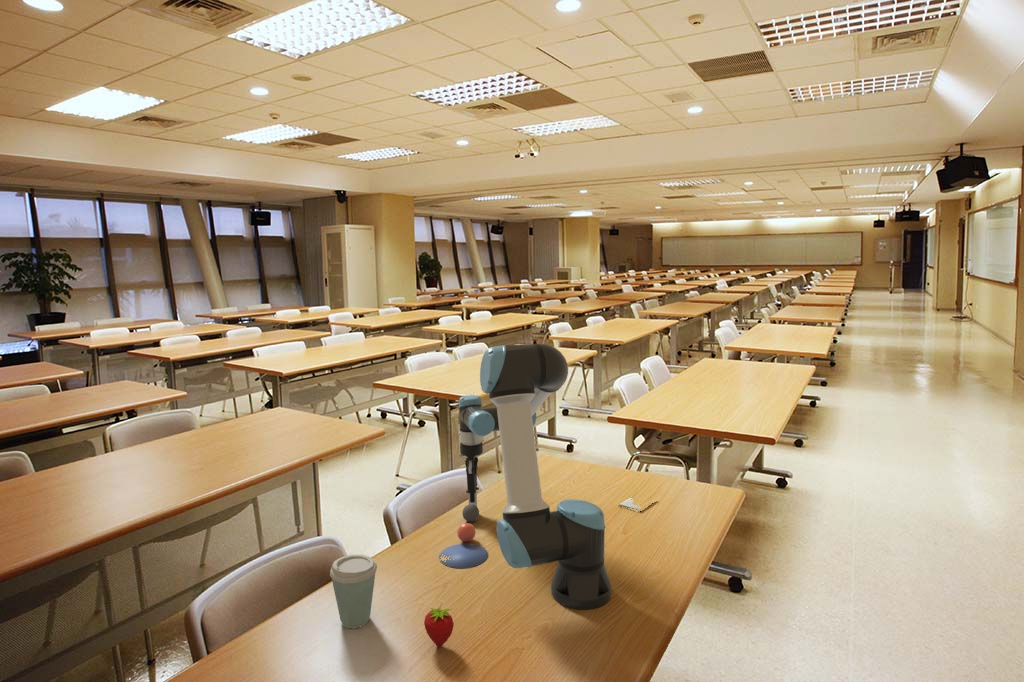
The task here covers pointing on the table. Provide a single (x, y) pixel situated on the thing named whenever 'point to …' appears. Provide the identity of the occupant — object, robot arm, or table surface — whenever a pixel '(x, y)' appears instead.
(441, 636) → the strawberry
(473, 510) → the grey ball
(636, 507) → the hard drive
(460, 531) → the red ball
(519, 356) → the robot arm
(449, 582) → the table surface
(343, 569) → the disposable coffee cup
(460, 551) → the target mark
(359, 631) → the table surface
